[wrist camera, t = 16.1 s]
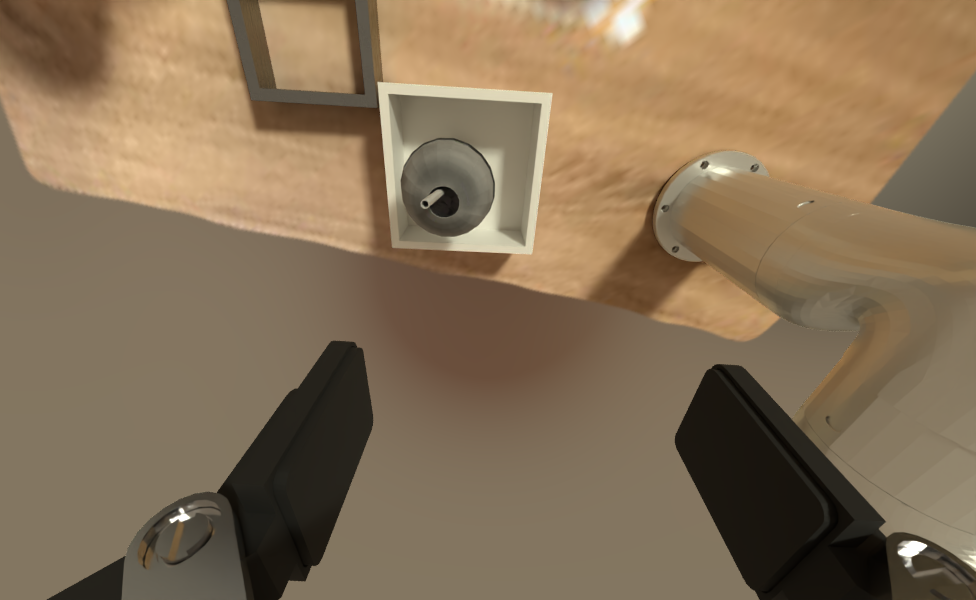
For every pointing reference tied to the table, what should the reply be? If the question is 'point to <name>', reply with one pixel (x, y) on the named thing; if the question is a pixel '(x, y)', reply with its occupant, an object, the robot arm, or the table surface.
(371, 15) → the holder
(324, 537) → the robot arm
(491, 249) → the bin
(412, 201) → the beverage cup
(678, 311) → the table surface
